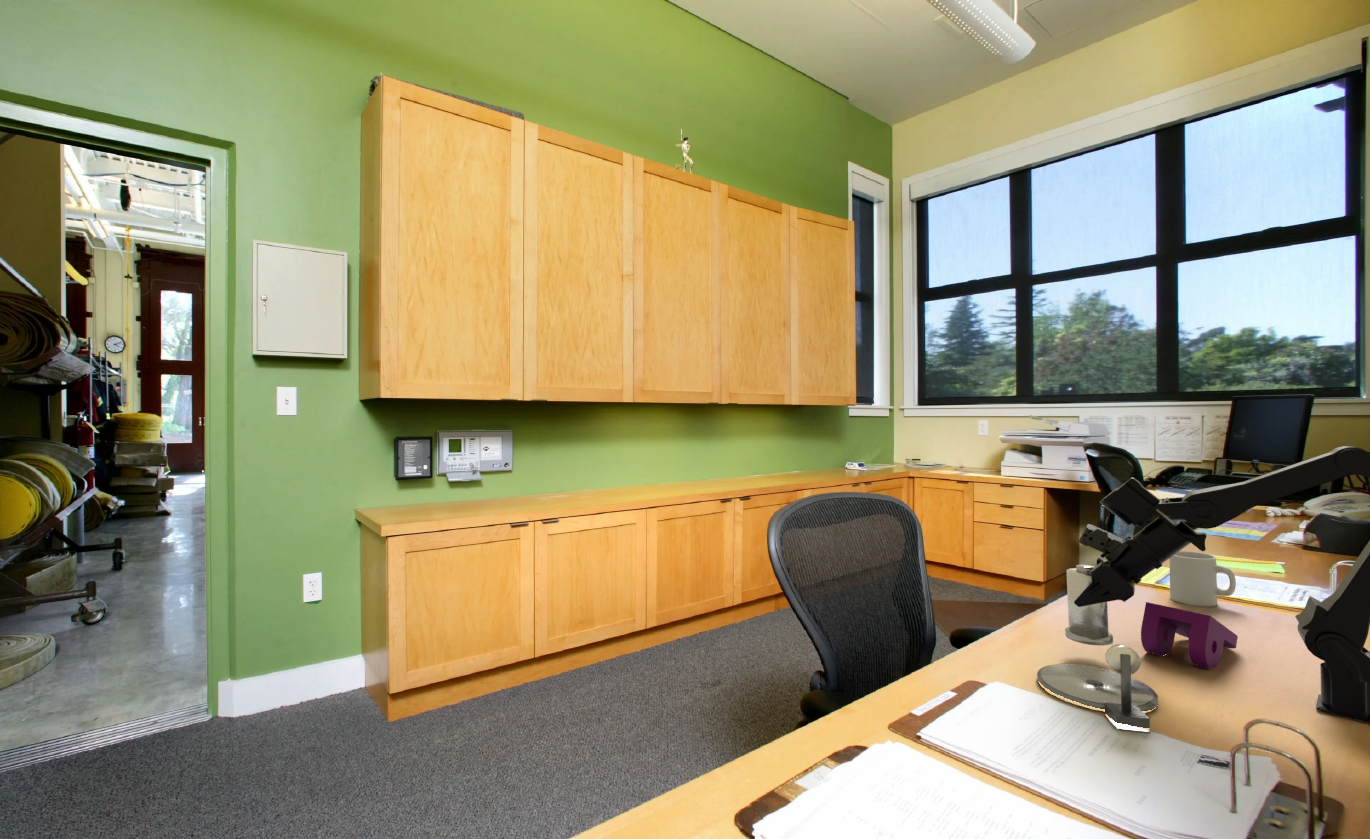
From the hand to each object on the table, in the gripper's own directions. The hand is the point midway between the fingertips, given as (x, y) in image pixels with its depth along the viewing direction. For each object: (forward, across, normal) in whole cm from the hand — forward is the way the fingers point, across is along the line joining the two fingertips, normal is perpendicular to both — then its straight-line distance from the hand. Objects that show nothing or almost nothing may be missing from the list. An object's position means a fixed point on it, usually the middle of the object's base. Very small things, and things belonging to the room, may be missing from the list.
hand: (1078, 600), depth 109 cm
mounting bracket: (-3, -15, +19) cm, 25 cm away
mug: (-5, -54, +21) cm, 58 cm away
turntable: (+5, +14, +10) cm, 18 cm away
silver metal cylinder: (+4, 0, +6) cm, 7 cm away
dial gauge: (+2, +24, +13) cm, 27 cm away
